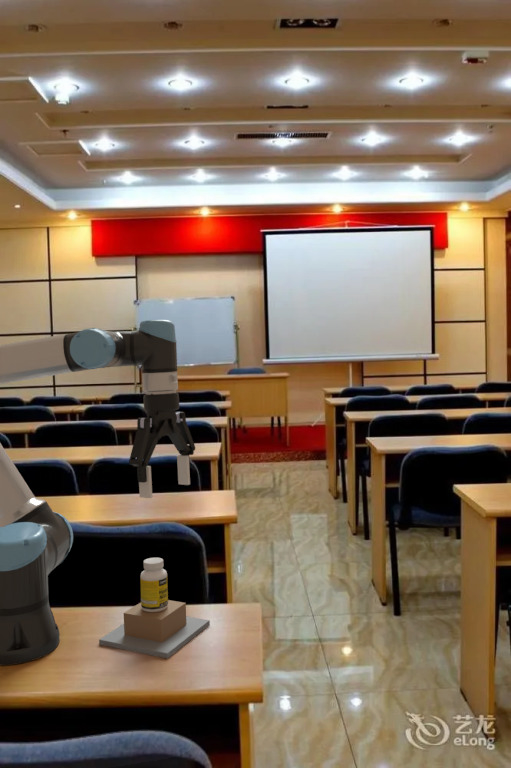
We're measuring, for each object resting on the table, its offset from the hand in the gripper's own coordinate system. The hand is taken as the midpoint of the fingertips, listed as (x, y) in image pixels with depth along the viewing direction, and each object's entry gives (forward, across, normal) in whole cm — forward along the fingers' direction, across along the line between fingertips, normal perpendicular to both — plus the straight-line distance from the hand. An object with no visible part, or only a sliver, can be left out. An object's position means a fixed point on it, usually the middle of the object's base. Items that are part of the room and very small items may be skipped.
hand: (166, 490), depth 137 cm
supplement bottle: (+22, -9, -2) cm, 24 cm away
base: (+28, -9, -2) cm, 29 cm away
